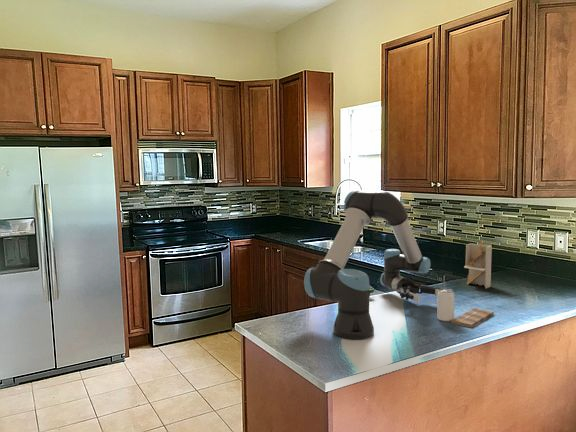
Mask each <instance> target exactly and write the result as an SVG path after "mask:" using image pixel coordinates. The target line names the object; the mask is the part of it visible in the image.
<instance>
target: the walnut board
mask: <svg viewBox="0 0 576 432" xmlns="http://www.w3.org/2000/svg"><path fill="white" fill-rule="evenodd" d="M492 316H494V311H491V310H487V309H486V310H485V309H481V308H477V307H474V308H472V309H470V310H468V311H466V312H464V313H462V314H460V315H458V316H457V317H454V319H453V320H451V321H450V323H451V324H453V325H458V326H462V327H467V328H470V329H472V328H473V327H475V326H477V325H478V324H480V323H483V322H484V321H486V320H487V319H488V318H490V317H492Z"/></svg>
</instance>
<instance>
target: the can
mask: <svg viewBox="0 0 576 432" xmlns="http://www.w3.org/2000/svg"><path fill="white" fill-rule="evenodd" d="M436 297H437V301H436V304H437V305H436V309H437V310H436V318H437V320H438V321H441V322H451V320H453V319H455V317H454V316H455V293H454V290H452V289H451V288H440V289H439V292H438V296H436Z"/></svg>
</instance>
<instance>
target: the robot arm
mask: <svg viewBox="0 0 576 432" xmlns="http://www.w3.org/2000/svg"><path fill="white" fill-rule="evenodd" d="M343 203H344V205H343V212H344V216H345V218H344V221H343V222H342V225H341V226H340V228H339V229H338V231H337V233H336V236H335V237H334V239H333V242H332V244H331V246H330V247H329V249H328V251H327V253H326V255H325V256H324V259H322V260H319V261H318V262H317V265H316V266H315V267H310V268H308V269H307V270H306V271H305V275H304V277H303V279H304V280H303V284H304V286H303V287H304V290H305V292H306V294H307V295H308V296H309V297H311V298H314V299H316V300H323V301H326V302H327V301H329V302H332V303H337V314H336V318H335V320H334V324H333V325H332V327H333V329H332V330H333V334H334V335H335V336H337V337H338V338H342V339H346V340H364V339H365V340H366V339H368V338H371V337H373V336H374V335H375V334H374V333H375V327H374V324H373V321H372V318H371V317H372V316H371V314H370V297H369V289H370V286H371V285H370V277H369V276H368V274H367V273H366V272H364V271H361V270H359V269H354V268H345V266H346V264H347V262H348V260H349V258H350V256H351V254H352V252H353V249H354V247H355V246H356V244H357V242H358V240H359V237H360V235H361V233H362V231H363V229H364V227H365V226H369V225H370V223H371V221H372V219H374V218H375V219H381V220H382V219H383V220H384V221H385V222H386V224H387V226H389V227H391V230H392V232H393V235H394V236H395V239H396V242H397V243H398V245H399V248H400V249H397V248H387V249H385V250H384V253H383V254H384V255H383V256H384V258H383V263H384V264H383V272H382V273H381V274H380V277H379V282H380V285H382V286H383V287H384V288H386V289H389V290H391V291H394V292H396V293H398V295H399V297H400V298H401V299H405V300H406V301H409V300H411V301H414V302H416V303H417V304H418V303H421V295H422V294H428V295H429V294H430V295H435V297H438V292H439V289H441V287H438V286H436V287H435V286H430V285H425V284H420V285H418V284H416V283H414V281H413V280H411V279H409V278H406V277H404V276H401V271H405V272H409V273H417V274H427V273H428V272H429V271H430V269H431V264H432V263H431V260H430V258H429V257H426V256H423V255H422V252H421V250H420V247H419V245H418V243H417V241H416V237H415V235H414V233H413V230H412V228H411V226H410V223H409V220H408V218H409V215H408V211H407V210H406V208H405V206H404V205H403V203H402V202H401V201H400V200H399V198H398V197H396V196H395V195H394V194H392V193H391V192H389V191H387V190H363V189H357V190H352V191H350V192H349V193H347V195H346V197H345V198H344V201H343ZM401 252H402V253H401ZM418 294H419V295H418Z"/></svg>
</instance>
